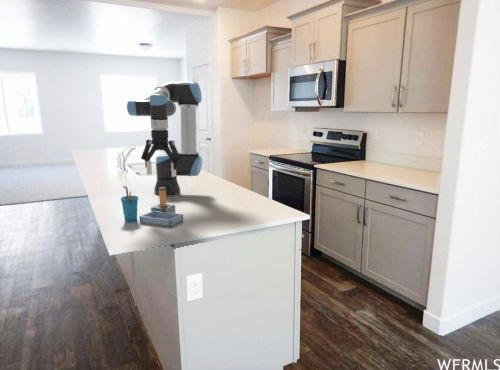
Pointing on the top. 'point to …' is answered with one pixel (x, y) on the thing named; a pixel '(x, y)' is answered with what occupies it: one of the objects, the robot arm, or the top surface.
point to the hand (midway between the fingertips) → (161, 175)
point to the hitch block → (167, 209)
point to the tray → (161, 218)
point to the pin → (162, 197)
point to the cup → (129, 206)
